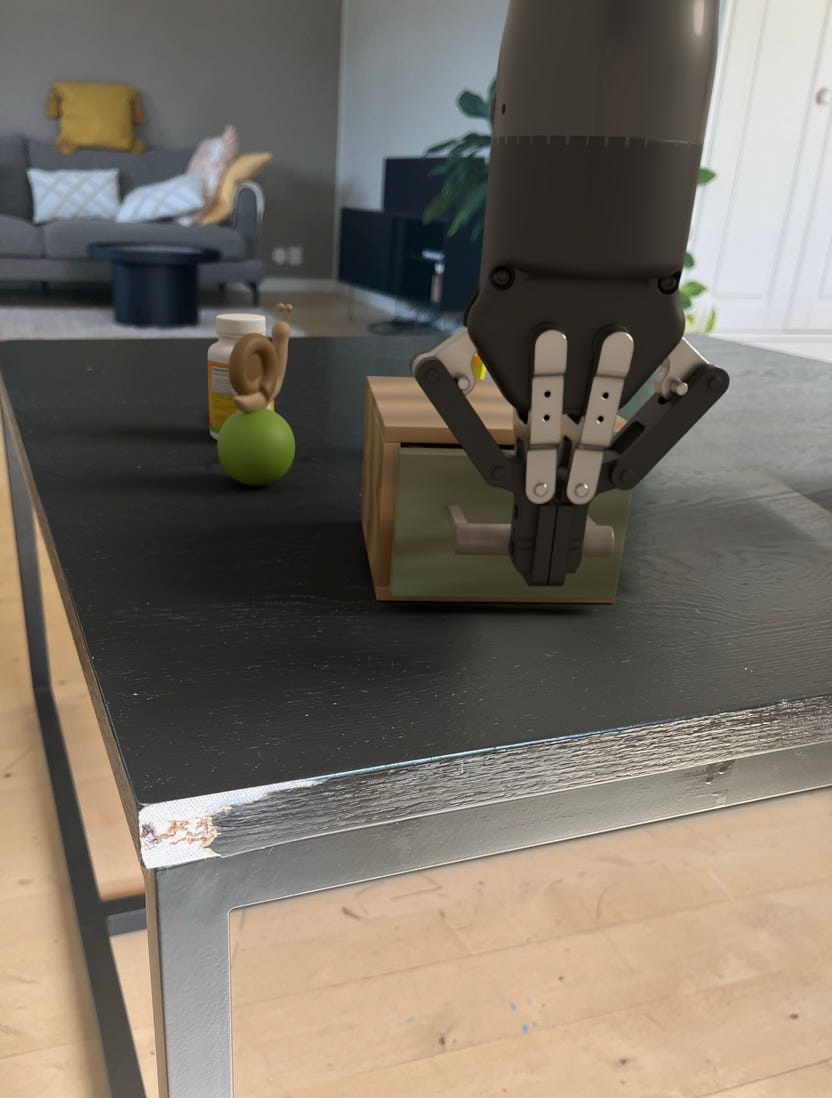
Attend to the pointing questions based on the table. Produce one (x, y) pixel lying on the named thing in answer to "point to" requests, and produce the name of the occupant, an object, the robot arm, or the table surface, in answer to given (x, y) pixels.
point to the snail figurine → (257, 409)
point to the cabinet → (412, 418)
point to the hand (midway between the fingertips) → (541, 579)
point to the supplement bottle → (218, 360)
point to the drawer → (484, 533)
